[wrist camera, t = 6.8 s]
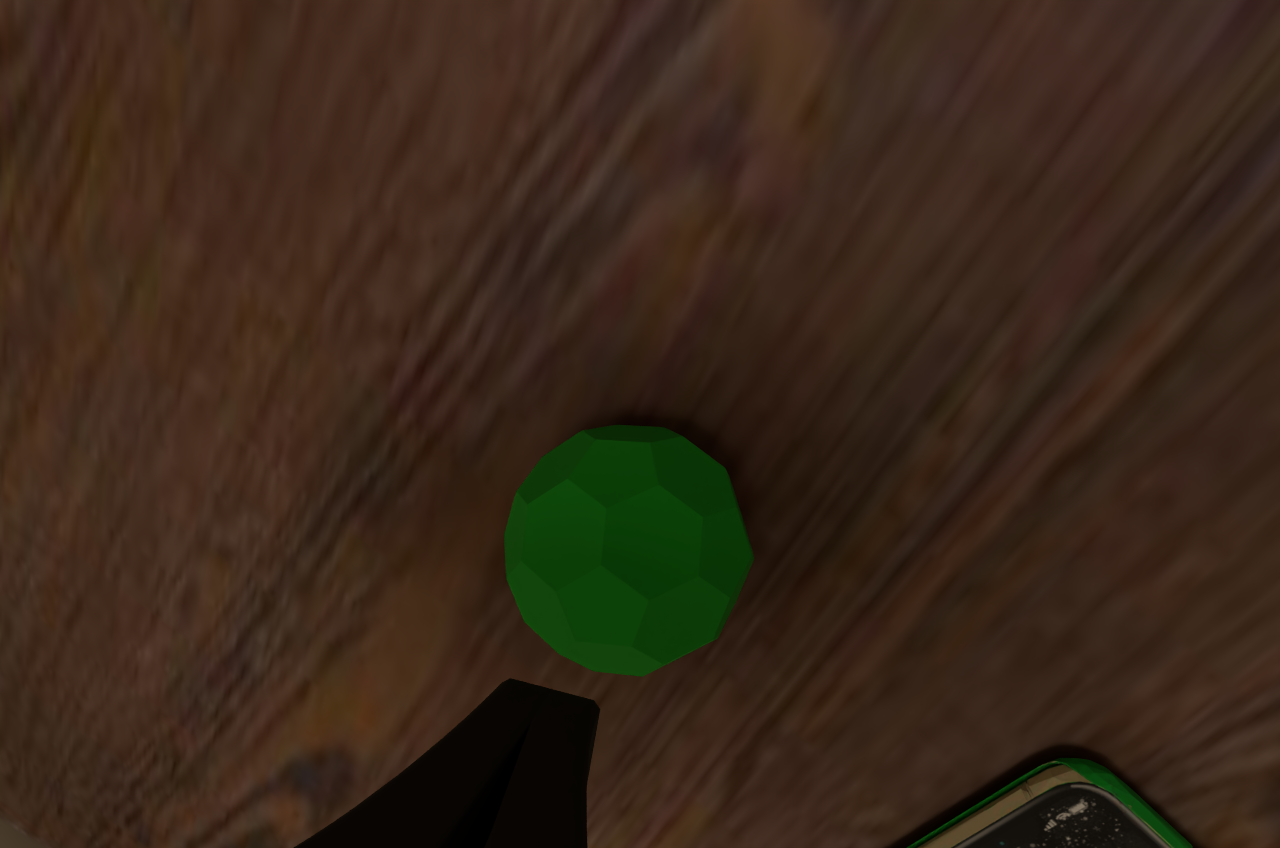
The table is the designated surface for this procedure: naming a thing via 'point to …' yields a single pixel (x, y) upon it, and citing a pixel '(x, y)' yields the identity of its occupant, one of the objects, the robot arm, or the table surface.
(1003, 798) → the smartphone
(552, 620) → the polyhedron
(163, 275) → the table surface
